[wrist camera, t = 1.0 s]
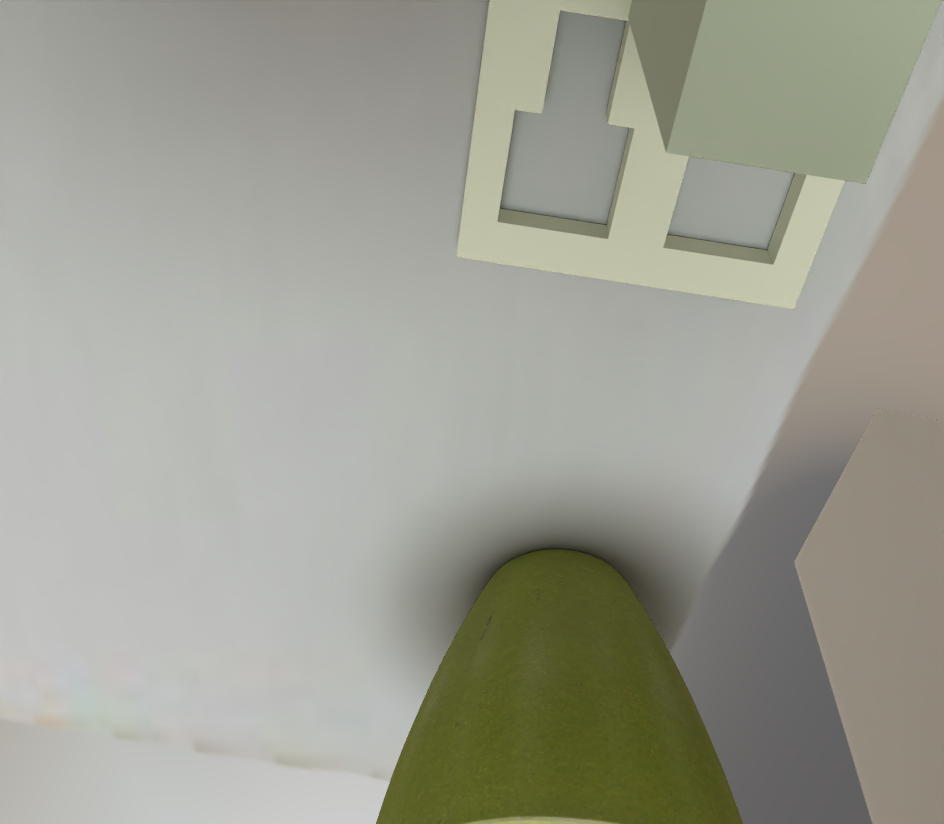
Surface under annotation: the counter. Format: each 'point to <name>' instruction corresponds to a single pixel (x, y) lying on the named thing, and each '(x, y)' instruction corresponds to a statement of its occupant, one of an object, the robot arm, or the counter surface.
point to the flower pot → (558, 712)
